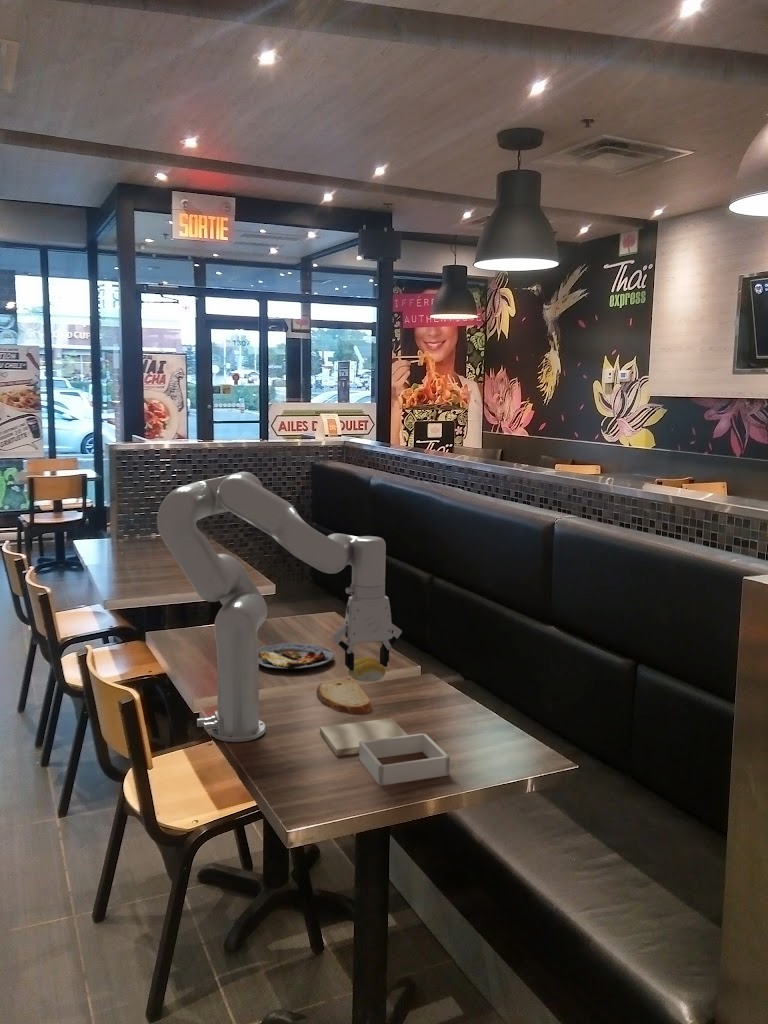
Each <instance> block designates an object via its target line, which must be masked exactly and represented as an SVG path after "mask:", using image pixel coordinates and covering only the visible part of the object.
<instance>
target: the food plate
mask: <svg viewBox="0 0 768 1024" xmlns="http://www.w3.org/2000/svg"><path fill="white" fill-rule="evenodd" d="M258 652H259V665H261V666H262V667H263V666H264V667H265V668H269V669H276V670H299V669H307V668H313V667H320V666H322V665H325V664H327V663H330V662H332V661H334V660H335V654H334V652H333V651H330V650H329V649H327V648H325V647H323V646H321V645H319V644H314V643H313V644H312V643H299V642H281V643H274V644H269V645H263V646H261V647H258ZM280 654H281V655H280Z"/></svg>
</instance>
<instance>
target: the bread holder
mask: <svg viewBox="0 0 768 1024" xmlns="http://www.w3.org/2000/svg"><path fill="white" fill-rule="evenodd" d="M416 753H417V754H418V753H423V754H424V755H425V756H426V757H427V758H423V759H415V760H408V761H402V762H396V763H395V762H394V763H389V764H387V763H386V764H382V763H381V761H380V760H378V759H380V758H388V757H395V756H403V755H409V754H416ZM450 759H451V757H450V755H448V754H447V753H446V752H445V750H443V749H442V748H441V747H440V746H439V745H438V744H437V743H436V742H435V741H433V739H432V738H430V737H429V735H427V734H426V732H422V733H415V734H407V735H406V736H399V737H391V738H384V739H376V740H369V741H361V742H359V753H358V761H360V763H362V765H363V767H365V769H366V770H367V771H368V773H369V774H370V775H371V777H372V778H373V779H374V781H375V782H376V783H377V784H378V786H379V787H380V786H381V787H382V786H388V785H393V784H394V785H395V784H402V783H407V782H413V781H420V780H425V779H432V778H433V779H435V778H440V777H446V776H450V761H451V760H450Z"/></svg>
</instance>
